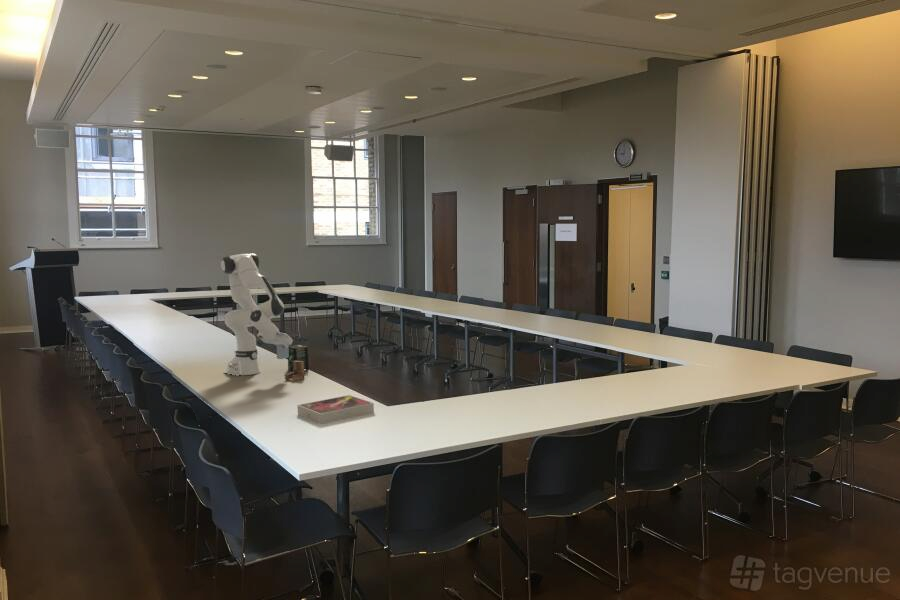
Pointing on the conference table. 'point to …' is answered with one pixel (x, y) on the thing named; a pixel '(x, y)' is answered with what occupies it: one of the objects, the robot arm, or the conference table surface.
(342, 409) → the product packaging
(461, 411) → the conference table surface
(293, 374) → the brown wooden holder
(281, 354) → the blue-grey rectangular block
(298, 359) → the tampon box
